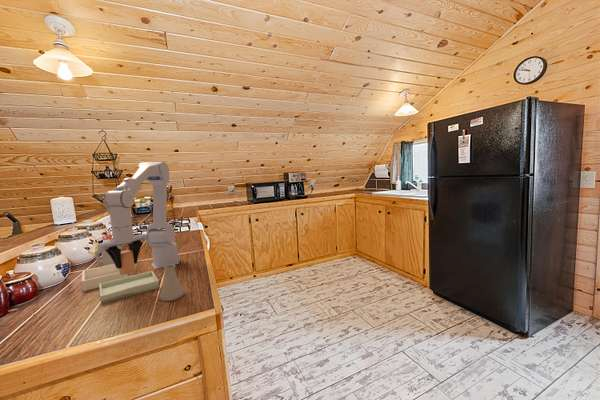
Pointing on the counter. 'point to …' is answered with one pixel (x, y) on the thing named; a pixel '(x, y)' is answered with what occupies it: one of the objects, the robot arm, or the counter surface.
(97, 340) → the counter surface
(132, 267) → the peg
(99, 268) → the box
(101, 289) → the tray
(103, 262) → the cup
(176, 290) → the flask
